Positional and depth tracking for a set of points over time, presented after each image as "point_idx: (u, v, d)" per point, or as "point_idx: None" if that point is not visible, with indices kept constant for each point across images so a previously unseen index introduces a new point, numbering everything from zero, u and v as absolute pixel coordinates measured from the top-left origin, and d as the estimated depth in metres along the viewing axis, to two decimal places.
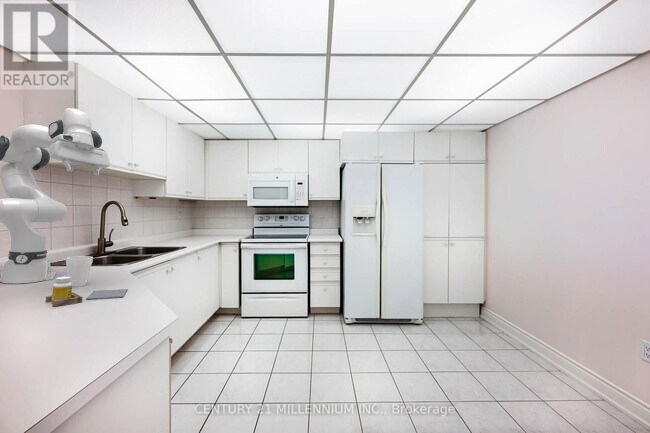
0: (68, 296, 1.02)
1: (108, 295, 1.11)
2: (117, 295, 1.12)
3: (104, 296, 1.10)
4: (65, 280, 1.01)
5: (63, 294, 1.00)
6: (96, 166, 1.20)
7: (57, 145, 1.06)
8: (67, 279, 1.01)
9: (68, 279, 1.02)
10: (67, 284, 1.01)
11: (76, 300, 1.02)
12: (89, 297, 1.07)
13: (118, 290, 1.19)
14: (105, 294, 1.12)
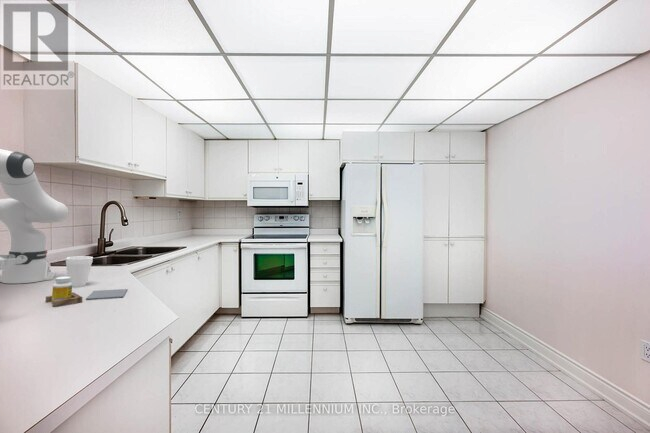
0: (68, 296, 1.02)
1: (108, 295, 1.11)
2: (117, 295, 1.12)
3: (104, 296, 1.10)
4: (65, 280, 1.01)
5: (63, 294, 1.00)
6: None
7: None
8: (67, 279, 1.01)
9: (68, 279, 1.02)
10: (67, 284, 1.01)
11: (76, 300, 1.02)
12: (89, 297, 1.07)
13: (118, 290, 1.19)
14: (105, 294, 1.12)
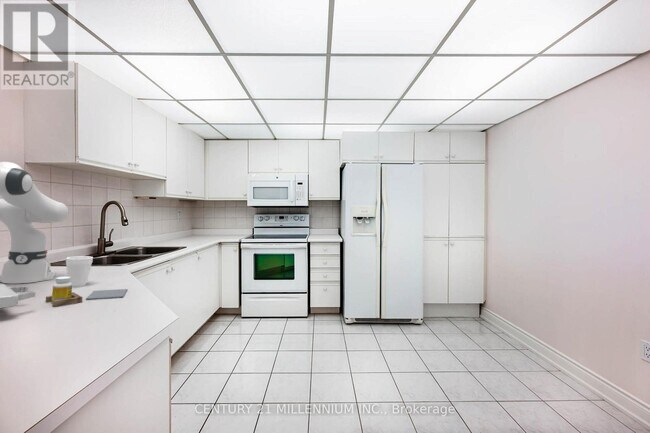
0: (68, 296, 1.02)
1: (108, 295, 1.11)
2: (117, 295, 1.12)
3: (104, 296, 1.10)
4: (65, 280, 1.01)
5: (63, 294, 1.00)
6: None
7: None
8: (67, 279, 1.01)
9: (68, 279, 1.02)
10: (67, 284, 1.01)
11: (76, 300, 1.02)
12: (89, 297, 1.07)
13: (118, 290, 1.19)
14: (105, 294, 1.12)
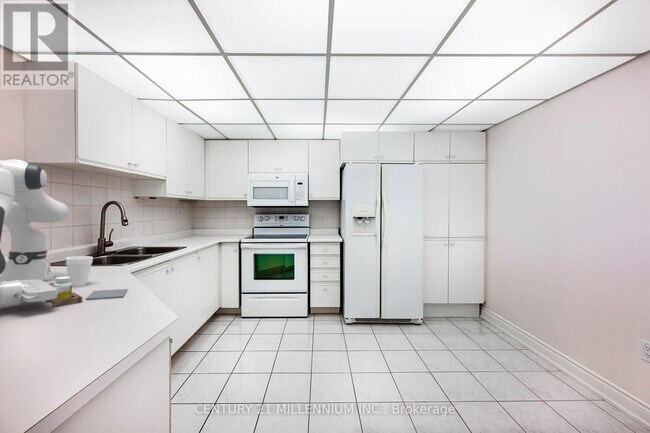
0: (68, 296, 1.02)
1: (108, 295, 1.11)
2: (117, 295, 1.12)
3: (104, 296, 1.10)
4: (65, 280, 1.01)
5: (63, 294, 1.00)
6: None
7: None
8: (67, 279, 1.01)
9: (68, 279, 1.02)
10: (67, 284, 1.01)
11: (76, 300, 1.02)
12: (89, 297, 1.07)
13: (118, 290, 1.19)
14: (105, 294, 1.12)
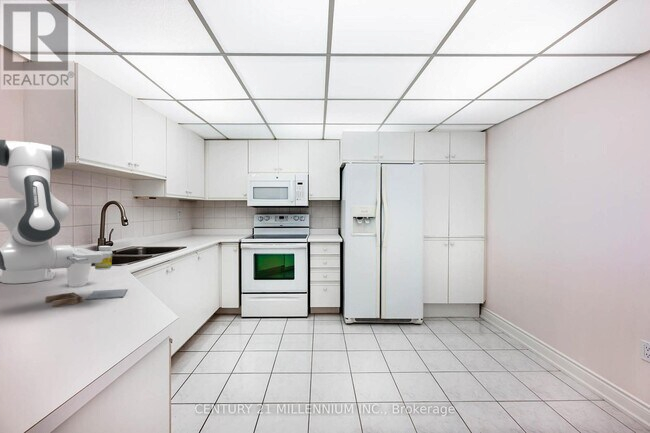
0: (109, 263, 1.12)
1: (108, 295, 1.11)
2: (117, 295, 1.12)
3: (104, 296, 1.10)
4: (107, 248, 1.11)
5: (105, 261, 1.11)
6: None
7: None
8: (108, 247, 1.12)
9: (109, 247, 1.12)
10: (109, 252, 1.12)
11: (76, 300, 1.02)
12: (89, 297, 1.07)
13: (118, 290, 1.19)
14: (105, 294, 1.12)
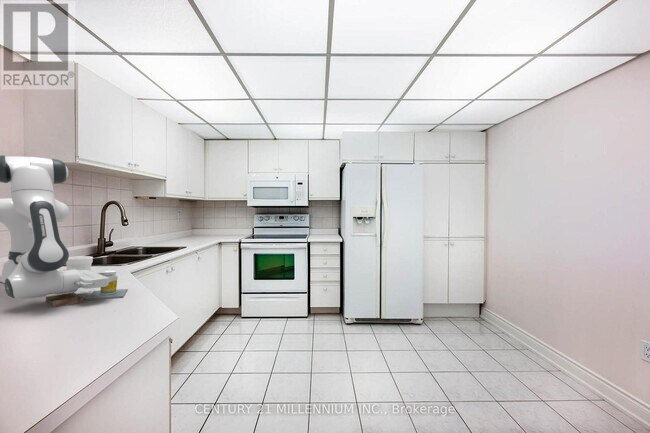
0: (114, 288, 1.14)
1: (108, 295, 1.11)
2: (117, 295, 1.12)
3: (104, 296, 1.10)
4: (112, 274, 1.13)
5: (110, 286, 1.12)
6: None
7: None
8: (113, 272, 1.14)
9: (114, 273, 1.14)
10: None
11: (76, 300, 1.02)
12: (89, 297, 1.07)
13: (118, 290, 1.19)
14: None
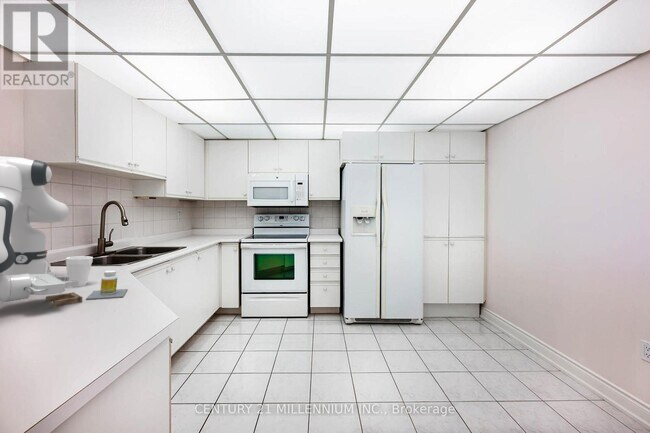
0: (114, 288, 1.14)
1: (108, 295, 1.11)
2: (117, 295, 1.12)
3: (104, 296, 1.10)
4: (112, 274, 1.13)
5: (110, 286, 1.12)
6: None
7: None
8: (113, 273, 1.14)
9: (114, 273, 1.14)
10: (114, 277, 1.14)
11: (76, 300, 1.02)
12: (89, 297, 1.07)
13: (118, 290, 1.19)
14: None
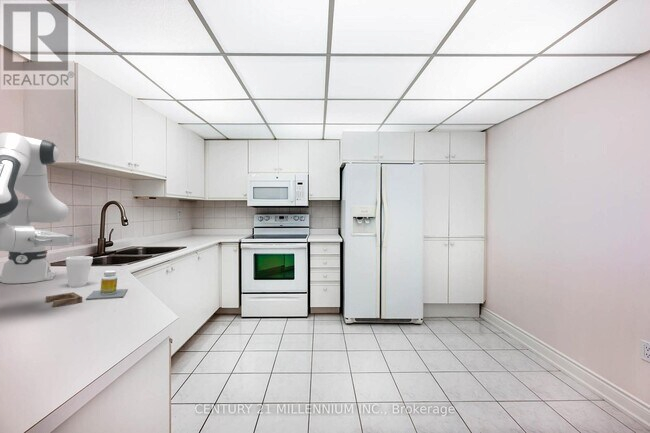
0: (114, 288, 1.14)
1: (108, 295, 1.11)
2: (117, 295, 1.12)
3: (104, 296, 1.10)
4: (112, 274, 1.13)
5: (110, 286, 1.12)
6: None
7: None
8: (113, 273, 1.14)
9: (114, 273, 1.14)
10: (114, 277, 1.14)
11: (76, 300, 1.02)
12: (89, 297, 1.07)
13: (118, 290, 1.19)
14: None
